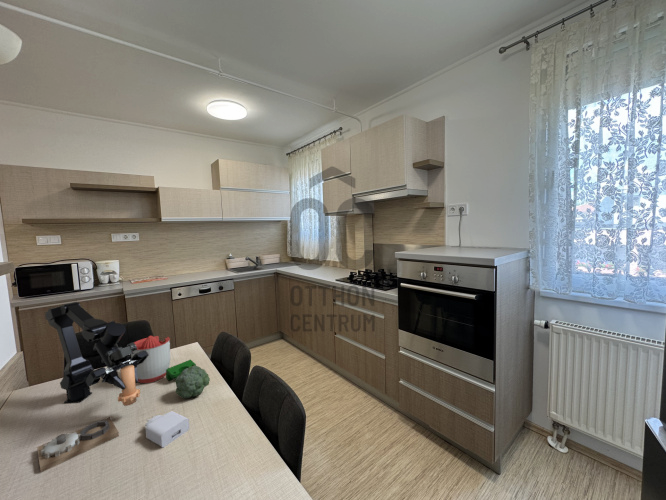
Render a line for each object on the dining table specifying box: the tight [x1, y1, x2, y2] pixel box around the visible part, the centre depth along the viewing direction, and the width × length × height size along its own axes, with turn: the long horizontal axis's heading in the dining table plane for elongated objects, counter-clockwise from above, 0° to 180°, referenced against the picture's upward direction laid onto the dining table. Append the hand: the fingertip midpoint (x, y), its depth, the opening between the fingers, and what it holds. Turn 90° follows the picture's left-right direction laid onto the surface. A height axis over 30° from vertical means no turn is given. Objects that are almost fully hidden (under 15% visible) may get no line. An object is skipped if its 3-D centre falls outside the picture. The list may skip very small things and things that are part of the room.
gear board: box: [36, 416, 120, 473], centre depth 89 cm, size 18×12×5 cm, turn 140°
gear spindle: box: [117, 365, 141, 406], centre depth 101 cm, size 7×7×13 cm
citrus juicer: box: [130, 335, 171, 384], centre depth 131 cm, size 16×17×20 cm
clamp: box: [165, 359, 197, 382], centre depth 129 cm, size 12×6×9 cm, turn 139°
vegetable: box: [175, 364, 211, 399], centre depth 117 cm, size 12×13×15 cm
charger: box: [144, 410, 190, 448], centre depth 94 cm, size 5×9×15 cm
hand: (131, 385), depth 100 cm, fingers closed on gear spindle, 4 cm apart
